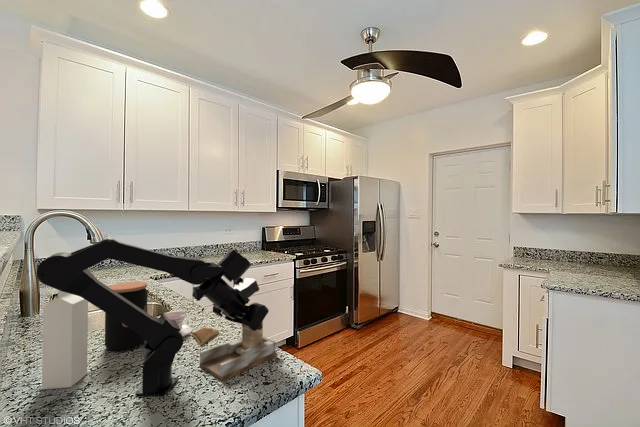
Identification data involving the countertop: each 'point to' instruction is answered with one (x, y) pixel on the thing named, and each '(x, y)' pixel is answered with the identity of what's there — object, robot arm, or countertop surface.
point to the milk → (64, 341)
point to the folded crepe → (204, 335)
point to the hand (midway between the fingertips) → (256, 326)
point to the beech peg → (250, 338)
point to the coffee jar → (117, 332)
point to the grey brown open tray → (235, 358)
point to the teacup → (179, 321)
